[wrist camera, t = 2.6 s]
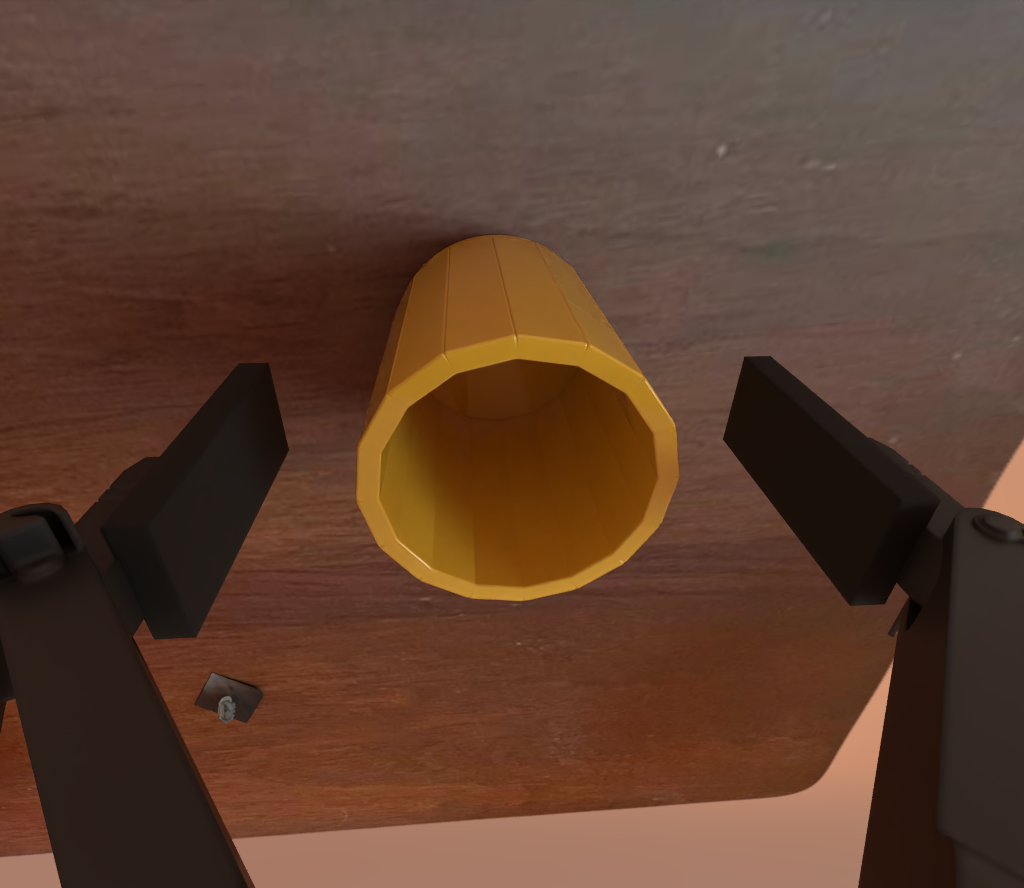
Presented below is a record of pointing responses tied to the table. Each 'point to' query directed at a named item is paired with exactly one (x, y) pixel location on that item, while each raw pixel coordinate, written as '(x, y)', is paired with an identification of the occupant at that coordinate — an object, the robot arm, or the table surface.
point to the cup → (510, 429)
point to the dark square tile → (229, 698)
